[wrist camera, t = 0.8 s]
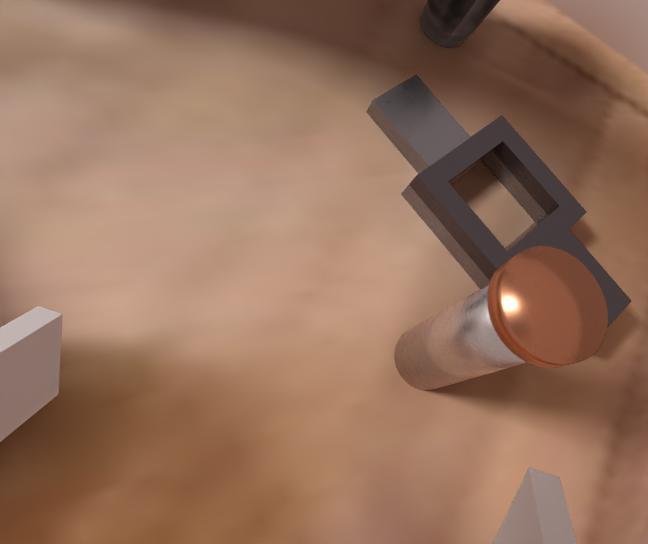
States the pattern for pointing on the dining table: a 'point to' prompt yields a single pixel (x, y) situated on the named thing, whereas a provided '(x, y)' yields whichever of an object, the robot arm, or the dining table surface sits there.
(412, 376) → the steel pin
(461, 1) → the beverage cup
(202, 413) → the dining table surface
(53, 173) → the dining table surface
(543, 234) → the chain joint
